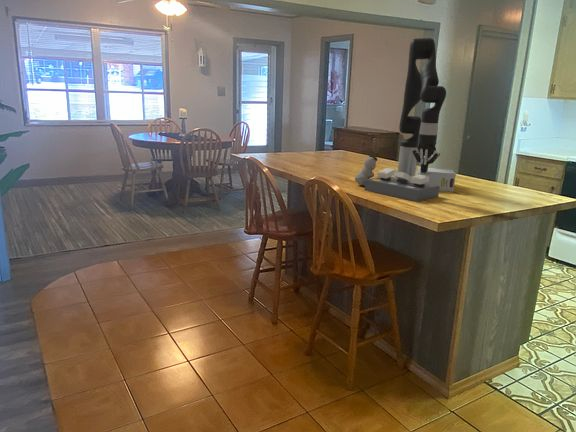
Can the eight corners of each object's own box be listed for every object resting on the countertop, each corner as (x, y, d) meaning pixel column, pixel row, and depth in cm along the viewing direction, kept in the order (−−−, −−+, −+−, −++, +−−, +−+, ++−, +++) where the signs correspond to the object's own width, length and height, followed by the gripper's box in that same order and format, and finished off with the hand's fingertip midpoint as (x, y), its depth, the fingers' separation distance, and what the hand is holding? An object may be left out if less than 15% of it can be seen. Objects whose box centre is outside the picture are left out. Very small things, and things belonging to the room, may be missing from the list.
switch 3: (419, 179, 208) (419, 174, 207) (428, 181, 204) (429, 176, 203) (410, 182, 203) (410, 177, 202) (420, 184, 200) (420, 178, 199)
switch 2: (401, 179, 214) (402, 174, 214) (410, 181, 210) (411, 176, 210) (393, 175, 209) (394, 170, 209) (402, 177, 205) (404, 172, 205)
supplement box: (417, 189, 223) (419, 170, 220) (415, 184, 235) (417, 166, 233) (453, 192, 220) (456, 172, 217) (449, 186, 232) (451, 168, 230)
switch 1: (386, 172, 220) (386, 167, 219) (395, 174, 217) (395, 169, 216) (377, 176, 216) (377, 171, 215) (386, 178, 212) (386, 173, 211)
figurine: (374, 187, 221) (377, 157, 217) (353, 186, 223) (356, 155, 219) (375, 184, 229) (377, 154, 225) (354, 183, 231) (357, 153, 227)
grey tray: (387, 185, 227) (388, 173, 226) (438, 196, 208) (440, 182, 206) (364, 190, 215) (365, 176, 214) (416, 201, 196) (418, 187, 194)
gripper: (446, 134, 197) (441, 174, 202) (419, 131, 206) (415, 169, 211) (437, 135, 192) (432, 175, 197) (410, 132, 201) (406, 171, 206)
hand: (423, 172), depth 204 cm, fingers closed
